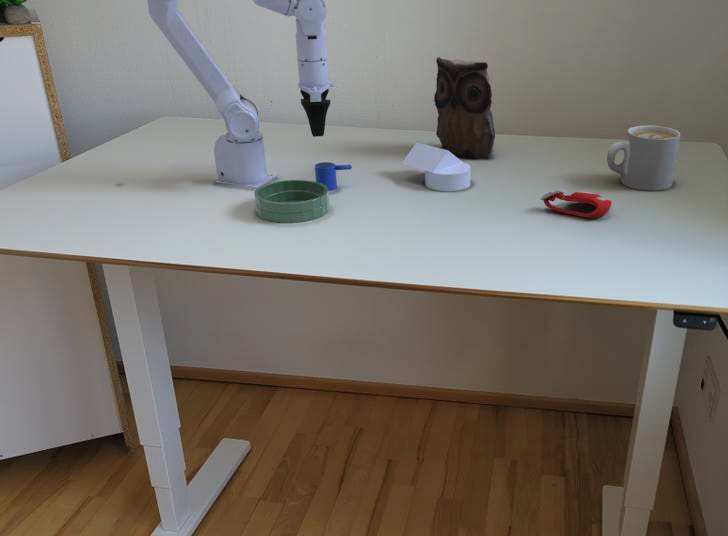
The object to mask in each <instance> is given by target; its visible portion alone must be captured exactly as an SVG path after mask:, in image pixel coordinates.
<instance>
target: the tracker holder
mask: <svg viewBox="0 0 728 536" xmlns="http://www.w3.org/2000/svg"><path fill="white" fill-rule="evenodd" d="M556 199H558V200H561V201H565V202H570V203H579V204H580V203H581V204H590V205H592V206H594V207H596V208H595V210H594V211H593V212H591V213H585V212H581V211H575V210H570V209H564V208H560V207H558V206H555V205H553V204H551V203H550V202H555V200H556ZM540 200H541V201H543V204H544V205H545V207H547V208H549V210H550V209H551V210H553V211H555V212H558V213H563V214H567V215H572V216H576V217H582V218H590V219H591V218H592V219H599V218H602V217H603V216H605V215H606V214H607V213H608V212H609V210H610V209H611V207H612V200H610V199H605V198H604V197H602V196H601V195H600V194H598V193H595V192H592V191H591V192H590V191H575V192H572V193H571V194H570V195H566V194H565V191H564V190H561V189H557V190H555V191H550V192H547V193H545V194H544V195H542V197H540Z"/></svg>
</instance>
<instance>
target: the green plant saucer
mask: <svg viewBox="0 0 728 536" xmlns="http://www.w3.org/2000/svg"><path fill="white" fill-rule="evenodd" d="M329 192H330V191H328V188H327V186H325V185H324V184H322V183H319V182H316V180H309V179H283V180H277V181H276V180H275V181H272V182H267V183H266V184H265V183H264V184H262V185H260V186H258V187H256V189H255V190H254V191H253V194H254V195H253V196H254V204H255V212H256V215H257V216H258V217H259V218H260V219H262V220H265V221H268V222H273V223H279V224H281V223H282V224H283V223H285V224H287V223H288V224H291V223H292V224H293V223H302V222H307V221H312V220H313V221H314V220H316V219H319V218H321V217H323V216H324V215H326V214H327V213H328V212H329V210H330V194H329Z"/></svg>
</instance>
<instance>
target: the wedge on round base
mask: <svg viewBox="0 0 728 536" xmlns="http://www.w3.org/2000/svg"><path fill="white" fill-rule="evenodd" d="M401 165H404V166H407V167H411V168H415V169H418V170H422V171H424V184H425V186H426V187H427V188H428V189H430V190H434V191H438V192H457V191H462V190H465V189H468V188H469V187H470V186H471V171H472V167H471V165H470V164H468V163H466V162H464V161H462V160H461V159H460V158H459V157H456V156H454V155H453V154H452V153H451V152H449V151H448V150H444V149H441V148H440V147H436V146H432V145H428V144H425V143H421V142H417V141H416V142H415V144H414V145H413V146H412V148H411V149H410V151H409V152H408V154H407V155H406V156H405V158H404V159H403V161H402V162H401Z"/></svg>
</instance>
